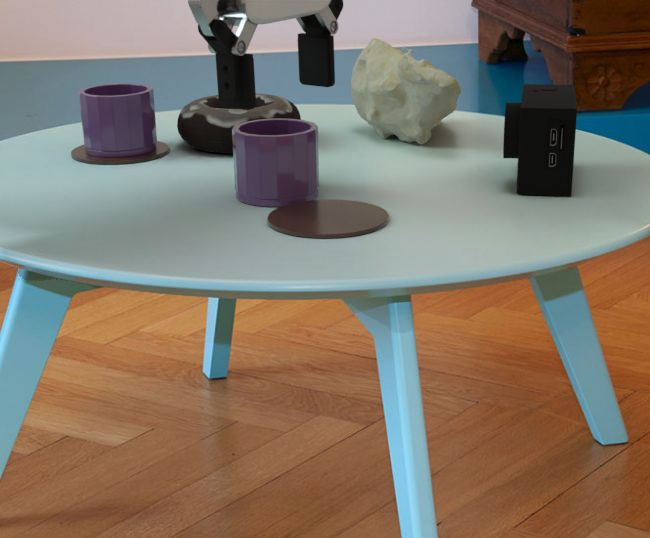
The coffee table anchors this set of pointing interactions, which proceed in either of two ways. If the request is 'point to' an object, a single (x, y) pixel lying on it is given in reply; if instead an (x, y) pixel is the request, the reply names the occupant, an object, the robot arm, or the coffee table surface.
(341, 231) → the coaster
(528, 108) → the digital camera
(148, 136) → the ramekin
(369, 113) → the pale rock
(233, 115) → the donut
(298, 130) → the ramekin
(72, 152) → the coaster
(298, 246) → the coffee table surface
